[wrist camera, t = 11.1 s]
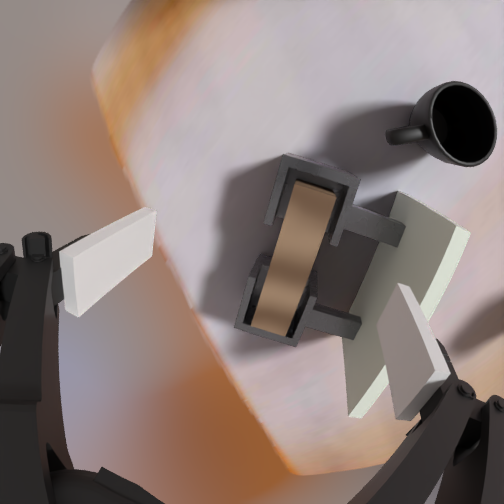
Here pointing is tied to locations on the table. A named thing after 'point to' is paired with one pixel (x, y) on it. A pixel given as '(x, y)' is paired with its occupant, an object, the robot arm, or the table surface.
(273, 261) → the rail
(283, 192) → the brackets
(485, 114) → the mug
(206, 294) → the table surface
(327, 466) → the table surface
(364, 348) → the backboard
